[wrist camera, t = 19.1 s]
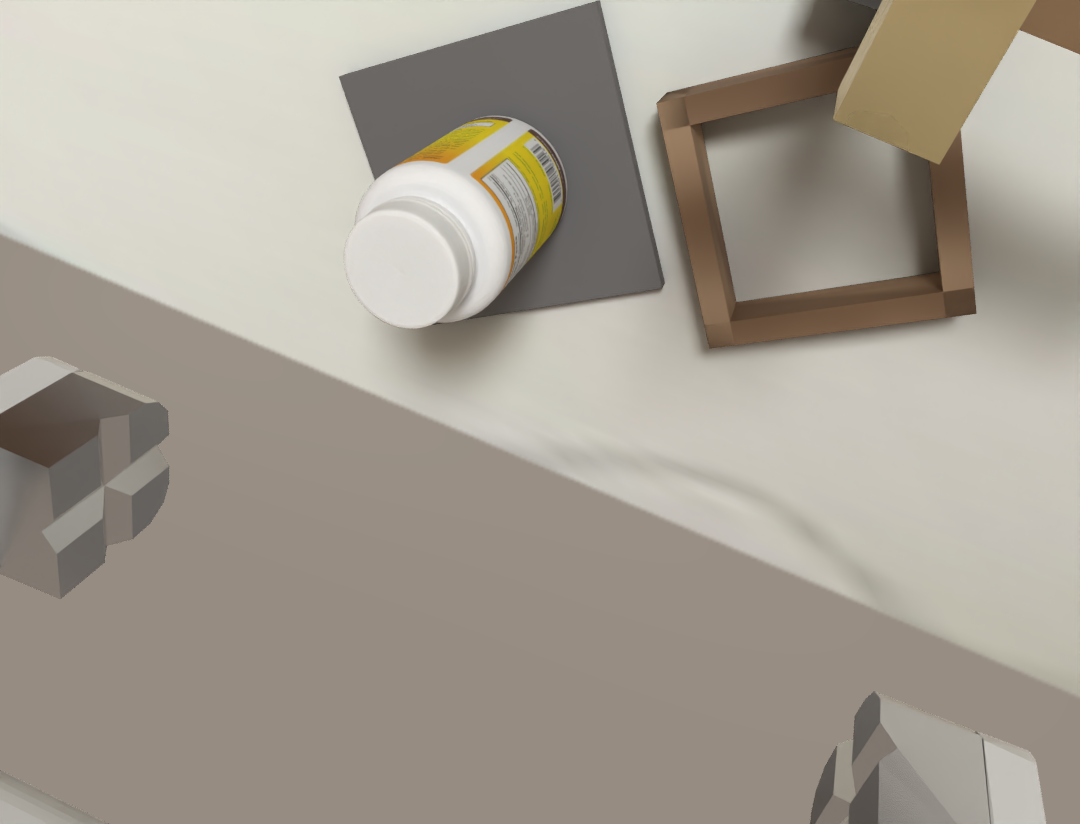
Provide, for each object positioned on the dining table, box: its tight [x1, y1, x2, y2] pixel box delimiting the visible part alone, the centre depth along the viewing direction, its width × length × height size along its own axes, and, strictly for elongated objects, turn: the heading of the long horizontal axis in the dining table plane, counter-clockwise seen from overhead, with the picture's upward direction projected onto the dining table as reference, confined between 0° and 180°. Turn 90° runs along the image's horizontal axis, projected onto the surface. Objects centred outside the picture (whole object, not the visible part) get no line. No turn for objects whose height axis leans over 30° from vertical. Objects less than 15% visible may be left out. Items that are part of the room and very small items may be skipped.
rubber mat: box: [339, 0, 665, 325], centre depth 38 cm, size 11×11×1 cm
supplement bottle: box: [344, 116, 567, 329], centre depth 33 cm, size 6×6×10 cm
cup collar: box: [656, 46, 976, 348], centre depth 34 cm, size 10×10×2 cm
